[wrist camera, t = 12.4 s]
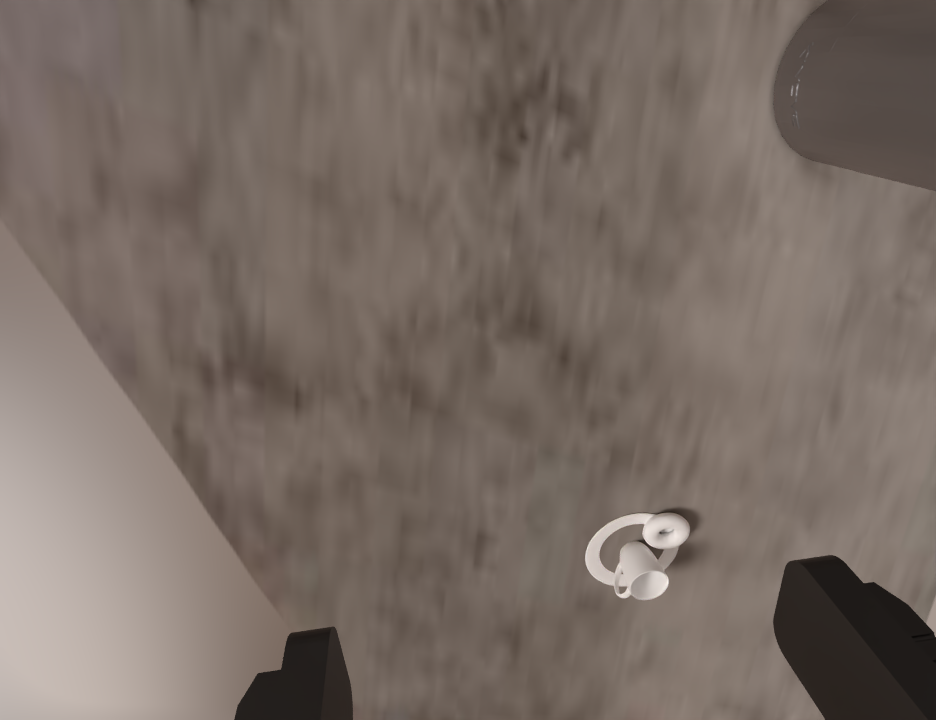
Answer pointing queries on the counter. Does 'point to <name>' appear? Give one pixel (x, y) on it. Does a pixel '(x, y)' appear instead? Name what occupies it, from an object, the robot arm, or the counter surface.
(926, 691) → the robot arm
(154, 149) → the counter surface
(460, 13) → the counter surface
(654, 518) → the teacup and saucer
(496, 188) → the counter surface
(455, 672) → the counter surface
